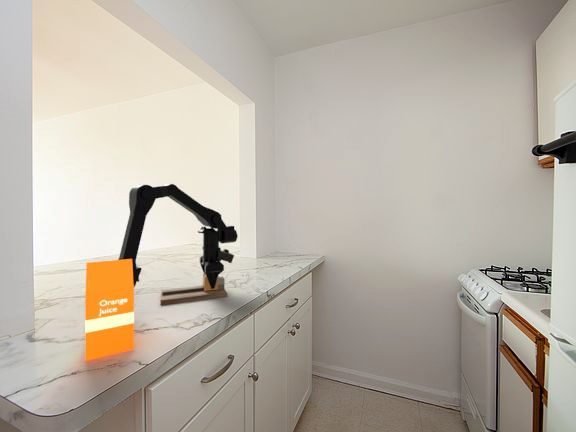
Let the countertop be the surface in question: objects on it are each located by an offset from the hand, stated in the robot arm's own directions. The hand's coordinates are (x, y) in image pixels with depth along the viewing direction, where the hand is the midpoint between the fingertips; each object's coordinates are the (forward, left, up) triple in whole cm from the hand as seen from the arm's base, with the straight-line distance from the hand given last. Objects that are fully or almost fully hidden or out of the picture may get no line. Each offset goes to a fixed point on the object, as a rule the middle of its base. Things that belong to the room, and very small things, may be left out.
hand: (210, 285), depth 99 cm
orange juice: (-31, +27, -3) cm, 41 cm away
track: (0, +6, -3) cm, 7 cm away
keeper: (0, 0, -1) cm, 1 cm away
